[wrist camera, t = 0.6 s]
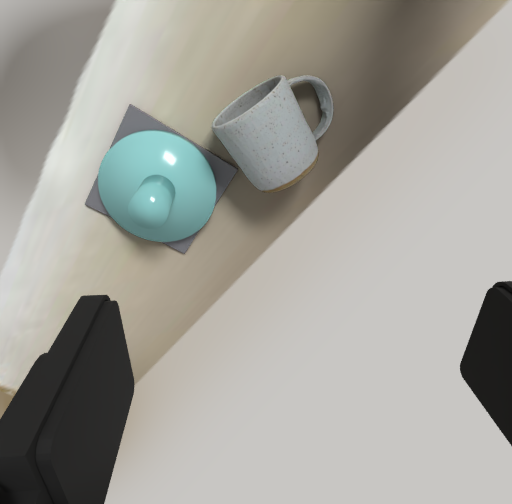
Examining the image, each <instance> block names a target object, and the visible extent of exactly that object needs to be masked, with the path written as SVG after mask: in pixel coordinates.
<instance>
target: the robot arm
mask: <svg viewBox="0 0 512 504" xmlns="http://www.w3.org/2000/svg"><path fill="white" fill-rule="evenodd" d="M460 371H461V374H462V377H463V378H464V380H465V381H466V383H467V384H468V386H469V387H470V388H471V390H472V391H473V393H474V394H475V395H476V397H477V398H478V400H479V401H480V402H481V404H482V405H483V406H484V408H485V409H486V411H487V412H488V413H489V415H490V416H491V418H492V419H493V420H494V422H495V423H496V425H497V426H498V427H499V429H500V430H501V432H502V433H503V434H504V436H505V437H506V438H507V440H508V441H509V442H510V444H511V446H512V281H507V282H497V283H496V284H495V285H493V287H492V288H490V289H489V290H488V291H487V293H486V296H485V299H484V301H483V304H482V307H481V309H480V312H479V315H478V318H477V320H476V323H475V326H474V328H473V331H472V334H471V337H470V339H469V342H468V345H467V347H466V350H465V353H464V355H463V358H462V361H461V364H460ZM133 393H134V377H133V373H132V368H131V363H130V358H129V354H128V349H127V344H126V339H125V335H124V330H123V325H122V320H121V315H120V311H119V306H118V303H117V301H110V298H109V296H107V295H90V296H81V298H80V299H79V300H78V302H77V304H76V305H75V307H74V309H73V311H72V312H71V314H70V316H69V317H68V319H67V321H66V323H65V324H64V326H63V328H62V329H61V331H60V333H59V335H58V336H57V338H56V340H55V341H54V343H53V345H52V346H51V348H50V350H49V352H48V353H44V354H42V355H40V356H39V358H38V359H37V360H36V361H35V363H34V365H33V366H32V368H31V370H30V371H29V373H28V375H27V376H26V378H25V380H24V381H23V383H22V384H21V386H20V388H19V389H18V391H17V393H16V394H15V396H14V398H13V399H12V401H11V403H10V404H9V406H8V408H7V409H6V411H5V412H4V414H3V416H2V418H1V419H0V504H104V502H105V498H106V494H107V491H108V487H109V483H110V480H111V476H112V472H113V468H114V464H115V461H116V457H117V454H118V450H119V446H120V442H121V438H122V434H123V431H124V427H125V424H126V420H127V416H128V413H129V409H130V405H131V401H132V397H133Z"/></svg>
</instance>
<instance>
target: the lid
mask: <svg viewBox="0 0 512 504" xmlns="http://www.w3.org/2000/svg"><path fill="white" fill-rule="evenodd" d="M98 188H99V193H100V197H101V200H102V202H103V204H104V206H105V208H106V210H107V211H108V213H109V214H110V216H111V217H112V218H113V219H114V220H115V221H116V222H117V223H118V224H119V225H120V226H121V227H122V228H124V229H125V230H127V231H128V232H130V233H132V234H133V235H135V236H138V237H140V238H143V239H146V240H150V241H156V242H171V241H177V240H181V239H184V238H186V237H189V236H191V235H192V234H194V233H196V232H197V231H198V230H199V229H201V228H202V227H203V226H204V225H205V223H206V222H207V221H208V219H209V218H210V216H211V214H212V212H213V209H214V206H215V201H216V191H217V187H216V179H215V175H214V172H213V169H212V167H211V165H210V163H209V161H208V160H207V158H206V157H205V155H204V154H203V153H202V152H201V151H200V149H199V148H197V147H196V146H195V145H194V144H193V143H191V142H190V141H189V140H187V139H185V138H183V137H182V136H180V135H177V134H175V133H172V132H168V131H164V130H156V129H152V130H142V131H137V132H134V133H131V134H129V135H127V136H125V137H124V138H122V139H121V140H119V141H118V142H117V143H116V144H115V145H114V146H113V147H112V148H111V149H110V150H109V151H108V152H107V154H106V155H105V157H104V158H103V160H102V163H101V165H100V168H99V174H98Z"/></svg>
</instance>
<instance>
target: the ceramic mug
mask: <svg viewBox="0 0 512 504" xmlns="http://www.w3.org/2000/svg"><path fill="white" fill-rule="evenodd" d="M301 81H307V82H309V83H311V84H312V86H313V87H314V88H315V90H316V93H317V96H318V98H319V101H320V108H321V110H322V111H323V113H322V118H321V121H320V123H319V125H318V126H317V128H316V129H315V130H314V131H313V133H312V131H311V129H310V128H309V126H308V124H307V122H306V120H305V118H304V116H303V113H302V111H301V109H300V107H299V105H298V103H297V100H296V98H295V96H294V94H293V92H292V90H291V87H290V86H291V85H292V84H294V83H297V82H301ZM333 109H334V108H333V100H332V96H331V93H330V91H329V89H328V87H327V85H326V84H325V83H324V82H323V81H322V80H321V79H319V78H317V77H314V76H309V75H305V76H299V77H295V78H292V79H289V80H287V79H286V78H285V76H281V75H280V76H275V77H272V78H270V79H268V80H266V81H263V82H262V83H260V84H258V85H256V86H255V87H253V88H252V89H250V90H248V91H247V92H245V93H244V94H242V95H241V96H240V97H238V98H237V99H235V100H234V101H233V102H232V103H231V104H229V105H228V106H227V107H226V108H225V109H224V110H223V111H222V112H220V113H219V114H218V116H217V117H216V118H215V119H214V121H213V123H212V130H213V131H214V133H215V134H216V136H217V137H218V138H219V139H220V141H221V142H222V143H223V145H224V146H225V148H226V149H227V151H228V152H229V153H230V155H231V156H232V157H233V159H234V160H235V161H236V163H237V164H238V165H239V166H240V168H241V169H242V171H243V172H244V174H245V175H246V177H247V178H248V179H249V180H250V182H251V183H252V184H253V185H254V186H255V187H256V188H258V189H259V190H260V191H263V192H268V193H272V192H278V191H281V190H284V189H286V188H288V187H290V186H292V185H294V184H295V183H297V182H298V181H300V180H301V179H302V178H304V177H305V176H306V175H307V174H308V173H309V172H310V171H311V170H312V169H313V167H314V166H315V164H316V162H317V160H318V155H319V153H318V147H317V144H316V140H317V139H319V138H320V137H321V136H322V135H323V134H324V133H325V132H326V130H327V129H328V127H329V125H330V123H331V121H332V117H333Z"/></svg>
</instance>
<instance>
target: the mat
mask: <svg viewBox="0 0 512 504" xmlns="http://www.w3.org/2000/svg"><path fill="white" fill-rule="evenodd" d="M152 129H156V130H164V131H168V132H172V133H175V134H177V135H180V136H182V137H183V138H185V139H187V140H189V139H188V138H186V137H184V136H183V135H181V134H179V133H178V132H176V131H174V130H173V129H171V128H169V127H168V126H166V125H164V124H163V123H161V122H160V121H158V120H156V119H155V118H153V117H151V116H150V115H148V114H146V113H145V112H143V111H141V110H140V109H138V108H136V107H135V106H133V105H131V104H130V105H129V107H128V109H127V111H126V114H125V116H124V118H123V120H122V122H121V125H120V127H119V129H118V131H117V134H116V136H115V138H114V140H113V142H112V145H111V147H110V149H111V148H112V147H113V146H114V145H115V144H116V143H117V142H118V141H119V140H121V139H122V138H124V137H125V136H127V135H129V134H131V133H134V132H137V131H142V130H152ZM189 141H190V142H191V143H193V144H194V145H195V146H196V147H197V148H199V149H200V151H201V152H202V153H203V154H204V155H205V157H206V158H207V160H208V161H209V163H210V165H211V167H212V169H213V172H214V175H215V179H216V187H217V191H216V201H215V205H216V203H217V202H218V200H219V199H220V197H221V195H222V194H223V192H224V191H225V189H226V187H227V186H228V184H229V183H230V181H231V180H232V178H233V176H234V175H235V173H236V172H237V170H238V169H237V168H236V167H234V166H232V165H231V164H229V163H227V162H226V161H224V160H222V159H221V158H219V157H217V156H216V155H214V154H212V153H211V152H209V151H207V150H206V149H204V148H203V147H201V146H199V145H198V144H196V143H194V142H193V141H191V140H189ZM110 149H109V150H110ZM85 205H87V206H89V207H91V208H93V209H95V210H97V211H99V212H101V213H103V214H106V215H108V216H110V214H109V213H108V211H107V210H106V208H105V206H104V204H103V202H102V200H101V197H100V193H99V188H98V176H97V178H96V180H95V182H94V185H93V187H92V189H91V191H90V194H89V196H88V198H87V200H86V202H85ZM110 217H111V216H110ZM199 230H200V229H199ZM199 230H198V231H197V232H196V233H194V234H192V235H191V236H189V237H186V238H184V239H181V240H177V241H171V242H162V243H164V244H166V245H168V246H170V247H172V248H174V249H176V250H178V251H180V252H182V253H184V254H185V252H186V251H187V249H188V247H189V246H190V244H191V243H192V241H193V240H194V238H195V236H196V235H197V233H198V232H199Z"/></svg>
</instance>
